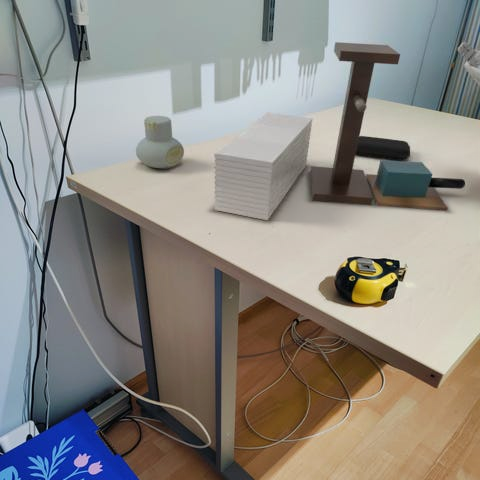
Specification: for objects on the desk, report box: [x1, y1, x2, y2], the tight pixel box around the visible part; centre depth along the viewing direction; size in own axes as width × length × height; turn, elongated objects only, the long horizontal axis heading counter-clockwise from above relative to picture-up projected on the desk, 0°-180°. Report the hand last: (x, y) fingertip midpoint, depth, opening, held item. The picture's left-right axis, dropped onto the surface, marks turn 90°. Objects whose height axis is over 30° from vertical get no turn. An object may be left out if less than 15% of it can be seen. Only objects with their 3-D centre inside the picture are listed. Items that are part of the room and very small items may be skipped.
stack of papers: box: [214, 112, 314, 221], centre depth 88 cm, size 32×11×11 cm, turn 160°
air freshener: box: [135, 115, 185, 169], centre depth 96 cm, size 11×8×10 cm
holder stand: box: [309, 41, 401, 206], centre depth 84 cm, size 12×18×26 cm, turn 175°
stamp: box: [375, 159, 466, 198], centre depth 90 cm, size 18×7×5 cm, turn 89°
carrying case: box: [356, 135, 411, 161], centre depth 111 cm, size 11×3×15 cm
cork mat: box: [365, 173, 448, 212], centre depth 92 cm, size 14×16×1 cm
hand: (469, 48), depth 80 cm, fingers open, 8 cm apart
